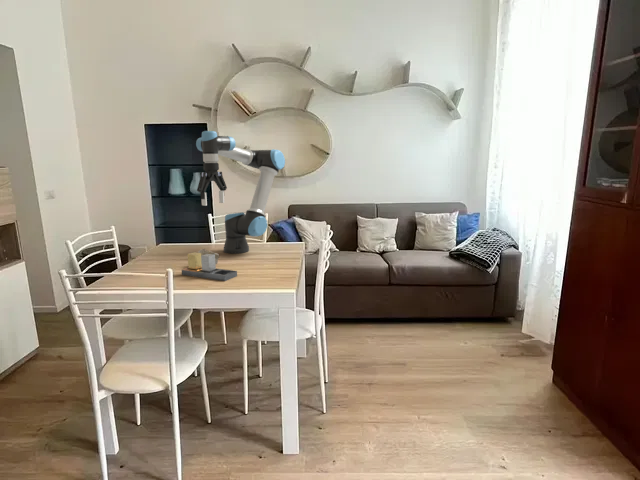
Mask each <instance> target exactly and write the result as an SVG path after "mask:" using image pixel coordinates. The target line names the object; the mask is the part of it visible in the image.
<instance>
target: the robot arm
mask: <svg viewBox="0 0 640 480" xmlns="http://www.w3.org/2000/svg"><path fill="white" fill-rule="evenodd" d="M195 142H196V143H195V146H196V148H197V151H200V152H202V161H203V162H204V163H203V171H205V172H200V176H199V181H198V185H197V189H196V191H197V192H198V193H199V194H200V199H201V206H205V207H206V206H208V201H207V200H208V199H207V198H208V197H207V192H206V190H208V187H209V184H210V183H211V182H214V183H215V185H216V186H217V187H218V198H219V199H218V201H219V204H225V191H227V189H228V187H227V184H226V181H225V179H224V177H223V172H222V171H219V170H220V166H219V160H220V159H219V156H221V157H224V158H227V159H231V160H234V161H237V162H240V163H242V164H243V165H244V166H247V167H251V168H254V169H257V170H259V171H260V173H259V177H258V179H257V183H256V186H255V189H254V194H253V197H252V201H251V203H250V206H249V208H248V209H246V211H245V212H244V211H243V212H234V213H228V214H225V217H224V227H225V229H224V230H225V242H224V245H223V253H226V254H243V253H248V252H249V251H250V246H249V243H248V240H247V238H246V237H247V236H248V237H249V236H250V237H261V236H263V234H265V233H266V232H267V230H268V220H267V219H266V214H265V211H266V208H267V204H268V200H269V197H270V193H271V190H272V186H273V183H274V179H275V177H276V176H278V174H279V171H280V170H283V169H284V167H285V164H286V159H285V155H284V153H283V152H282V151H281V150H279V149H275V148H274V149H250V148H246V149H244V148H242V147H239V146H237V145H236V143H237V142H236V139H235V138H234V137H233V136H229V135H218V133H217V131H213V130H204V131H202V132H201V137H199V138H197V139H196V141H195Z"/></svg>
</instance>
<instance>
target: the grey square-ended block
mask: <svg viewBox="0 0 640 480" xmlns="http://www.w3.org/2000/svg"><path fill="white" fill-rule="evenodd" d="M201 262H202V272H207V273H211V272H213V271H216V265H217V264H215V255H214V254H205V255H202V256H201Z"/></svg>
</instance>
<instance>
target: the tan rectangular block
mask: <svg viewBox="0 0 640 480" xmlns="http://www.w3.org/2000/svg"><path fill="white" fill-rule="evenodd" d="M187 265H188V267H187V268H188V269H189V270H195V271H197V270H200V269H202V262H201V253H197V252H196V251H195V252H190V253H187Z"/></svg>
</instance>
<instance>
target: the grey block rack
mask: <svg viewBox="0 0 640 480" xmlns="http://www.w3.org/2000/svg"><path fill="white" fill-rule="evenodd" d="M181 275H182V276H186V275H187V277H193V276H194V278H200V277H201V278H202V279H207V278H208V280H215V281H222V282H226V281H229V280H231V279H233V278H237V277H238V270H232V269H230V270H229V269H225V268H216V271H213V272H211V273H207V272H202V269H200V270H197V271H195V270H189V269H188V267H185V268H183V269H181Z"/></svg>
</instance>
